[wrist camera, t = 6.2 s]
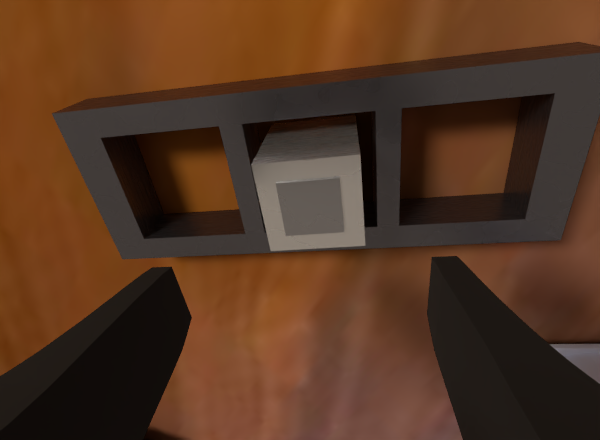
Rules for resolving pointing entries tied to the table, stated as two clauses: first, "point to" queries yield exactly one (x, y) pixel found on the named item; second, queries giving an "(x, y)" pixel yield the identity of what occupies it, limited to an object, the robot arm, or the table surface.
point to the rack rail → (385, 150)
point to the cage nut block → (311, 184)
